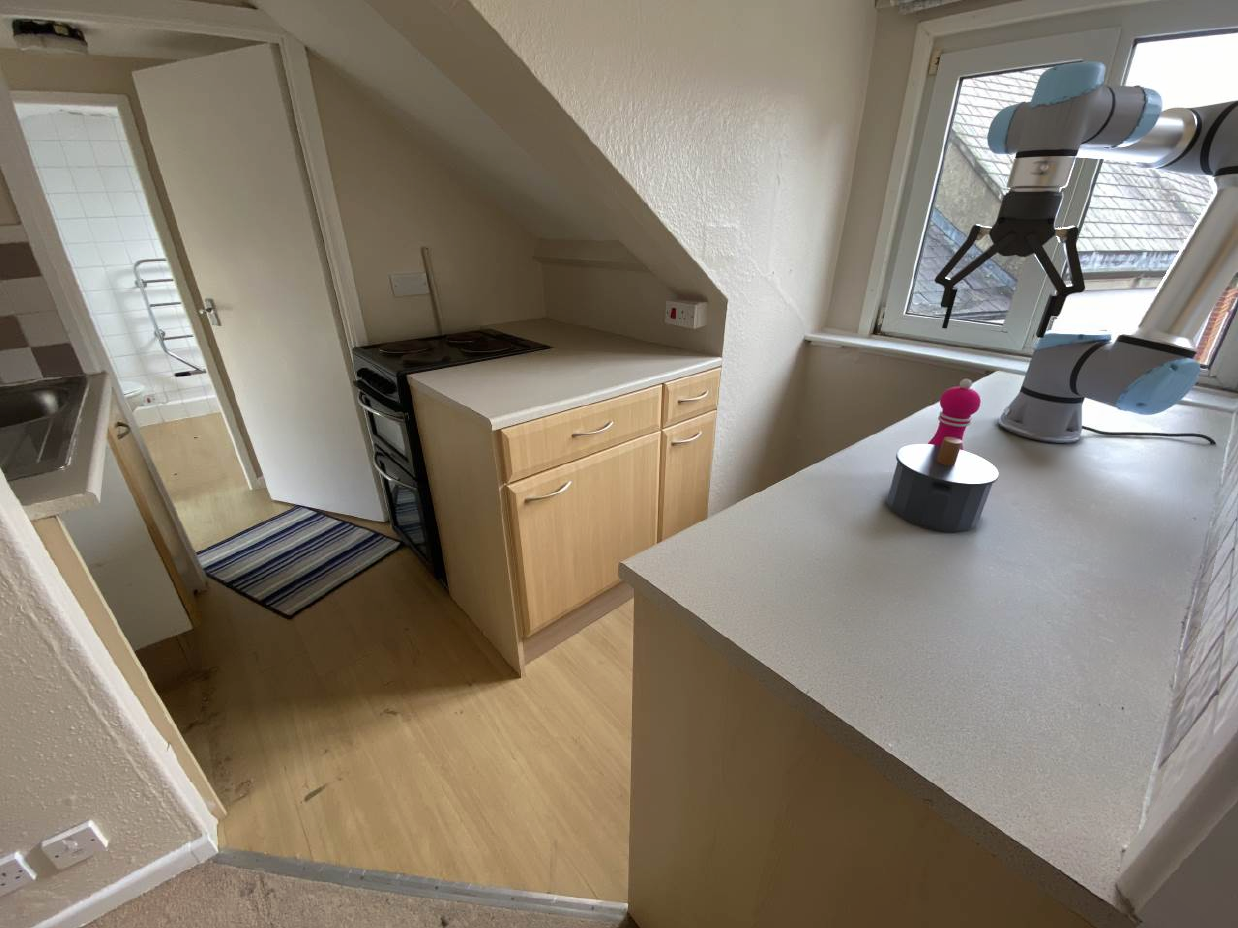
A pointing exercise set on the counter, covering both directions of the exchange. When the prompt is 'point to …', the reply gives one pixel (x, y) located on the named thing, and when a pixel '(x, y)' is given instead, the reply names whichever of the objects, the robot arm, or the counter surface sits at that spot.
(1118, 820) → the counter surface
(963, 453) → the pot lid
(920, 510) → the pot
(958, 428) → the pepper mill
